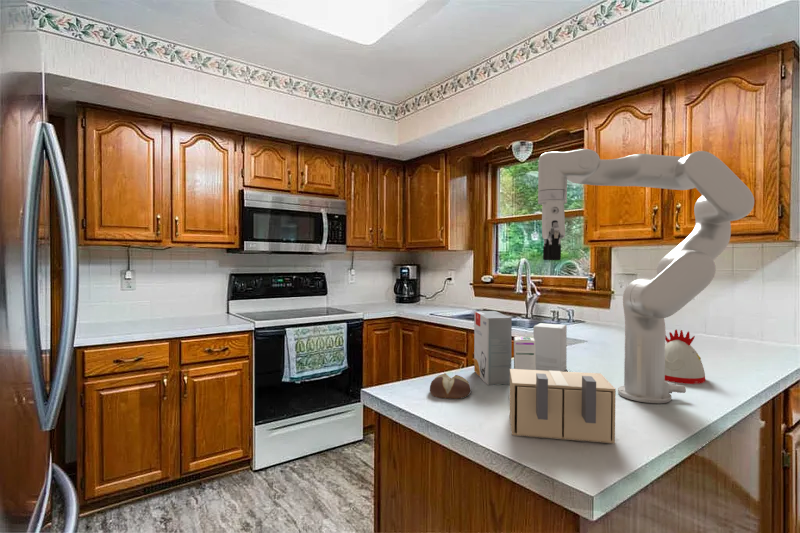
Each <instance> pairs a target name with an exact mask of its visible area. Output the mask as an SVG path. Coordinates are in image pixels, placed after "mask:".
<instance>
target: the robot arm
mask: <svg viewBox="0 0 800 533" xmlns="http://www.w3.org/2000/svg"><path fill="white" fill-rule="evenodd" d="M537 178H538V179H537V180H538V182H537V189H538V190H537V201H538V202H537V204H538V205H540V206H542V207H541V232H542V233H541V235H542V236H541V237H542V239H543V247H542V249H543V250H542V253H543V254H542V256H543V257H542V258H543V260H544V261H560V260H561V258H562V245H561V243H562V242H561V239H564V238H565V237H566V226H565V225H566V223H565V218H566V217H565V216H566V215H565V204H567V203H568V199H567V198H568V181H569V182H570V183H573V184H578V185H589V186H599V187H601V186H605V187H607V186H609V187H614V186H615V187H640V188H641V187H643V188H644V187H645V188H652V189H653V188H654V189H664V190H665V189H666V190H677V191H687V190H688V191H689V190H692V189H695V190H697V191H698V192H699V193H700V195H701V196H700V197H699V198H698V199H697V200H696V202H695V204H694V209H693V211H694V212H693V213H694V214H693V215H694V218H695V223H694V228H693V230H692V231H691V232H690V233H689V234H688V236H686V237H685V239H683V240H682V241H681V242H680V243H679V244H678V245H677V246H675V247H674V248H672V249H671V251H669V252H668V253H667V254H666V255H664V257H662V258H661V259H660V261H658V264H657V266H656V274H657V275H656V276H655V277H654V278H652V279H651V278H637V279H634V280H633V281H630V282H629V283H628V284H627V286H626V287H625V288H624V291H623V295H622V305H623V308H622V309H623V313H624V363H623V364H624V365H623V366H624V367H623V368H624V370H623V372H624V373H623V374H624V375H623V378H624V379H623V381H624V382H623V385H622V386H619V387H618V388H617V394H619V396H620V397H622V398H626V399H628V400H631V401H635V402H639V403H646V404H667V403H669V402H671V401H672V398H673V397H672V393H678V394H681V393H682V394H685V393H686V391H687V390H686V389H687V388H686V386H685V385H682V384H676V383H673V382H672V383H671V382H670V383H669V381H666V380H665V344H666V336H667V335H666V331H667V330H666V322H665V321H666V320H665V319H666V318H669V317H671V316H673V315H675V314H676V313H677V312H679V311H680V310H681V309H683V308H684V307H685V306H687V304H688V303H690V302H691V301H692V300H693V299H694V298H696V297H697V296H698V295H699V294H701V293H702V292H703V291H704V290H705V289H706V288H707V287H708V286H710V284H711V283H712V281H713V280H714V278H715V274H716V270H717V269H716V264H715V260H716V259H717V258H718V257H719V256H720V255H721V254H722V253H723V252H724V251H725V250H726V249H727V248H728V245H729V244H730V241H731V234H732V225H731V224H732V222H733V221H738V220H741V219H744V218H745V217H747V216H748V215H749V214H751V212H752V211H753V209H754V206H755V197H754V195H753V193H752V191H751V189H750V188H749V187H748V186H747V184H745V183H744V182H743V180H741V178H739V177H738V176H737V174H735V173H734V171H733V170H731V169H730V168H729V166H727V165H726V164H725V162H723V161H722V159H720V158H718V157H717V156H716V155H715V154H713V153H711V152H709V151H706V150H697V151H693V152H691V153H688V154H687V155H685V156H675V155H663V154H650V153H636V154H631V155H627V156H623V157H619V158H612V159H610V158H609V159H601V158H600V155H599V154H598V153H597V152H596V151H595V150H594V149H589V148H582V149H581V148H580V149H575V150H570V151H548V152H544V153H542V154H541V155H540V156H539V158H538V176H537Z"/></svg>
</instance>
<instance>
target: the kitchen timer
mask: <svg viewBox="0 0 800 533" xmlns="http://www.w3.org/2000/svg"><path fill="white" fill-rule="evenodd" d="M668 334H669V337H670V338H668V337H667V335H666V340H665V381H666V382H670V383H671V382H672V383H675V384H676V383H677V384H687V385H699V384H703V383H705V382H706V373H705V372H706V371H705V368H704V364H703V362H702V360H701V359H702V358H701V357H700V355H699V353H698V352H697V350H695V348H694V347H693V346H692V343H693V341H694V340H695V335H694V336H692V337H691V336H690V335H691V334H690V331H687V332H686V335H685V336H684V332H683V330H682V329H681V330H680V332H678V329H675V330H674V334H673V333H672V332H671V331H670V332H669V333H668Z"/></svg>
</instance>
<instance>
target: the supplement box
mask: <svg viewBox="0 0 800 533" xmlns="http://www.w3.org/2000/svg"><path fill="white" fill-rule="evenodd" d="M567 327H568V326H567V324H560V323H559V324H557V323H544V322H543V323H542V322H540V323H538V324H534V326H533V327H532V328H533V338H534V340H535V355H536V370H543V371H549V370H551V371H562V372H566V370H567V369H568V368H567V362H568V361H567V359H568V358H567V350H568V349H567V339H568V338H567V337H568V336H567V333H568V332H567V330H568V329H567Z"/></svg>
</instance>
